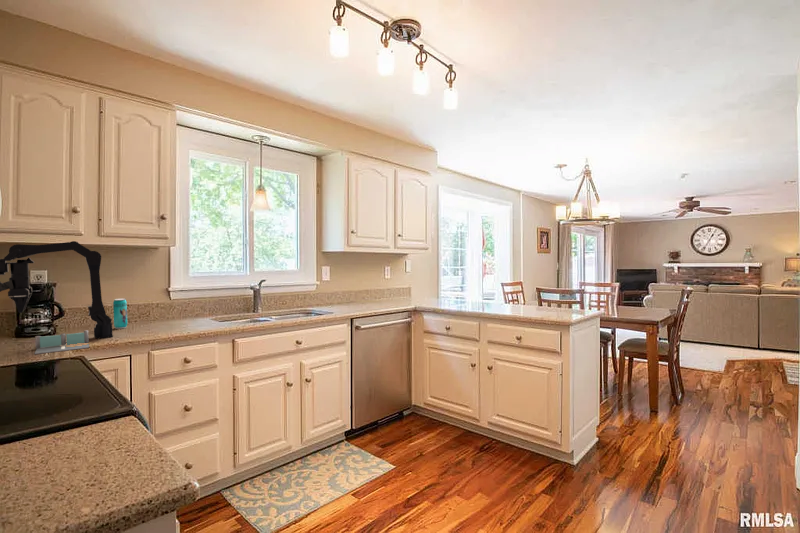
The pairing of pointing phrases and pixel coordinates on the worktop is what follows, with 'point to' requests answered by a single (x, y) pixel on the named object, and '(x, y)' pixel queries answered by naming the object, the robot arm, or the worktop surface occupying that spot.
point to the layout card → (58, 348)
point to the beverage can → (120, 313)
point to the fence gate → (50, 340)
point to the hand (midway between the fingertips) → (21, 311)
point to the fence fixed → (77, 338)
